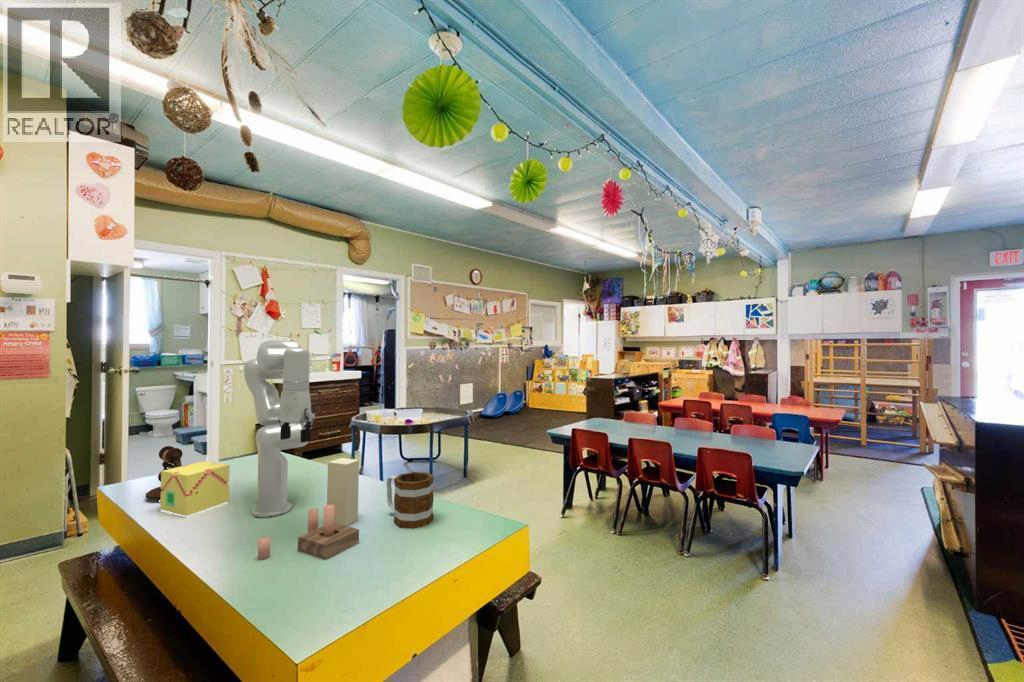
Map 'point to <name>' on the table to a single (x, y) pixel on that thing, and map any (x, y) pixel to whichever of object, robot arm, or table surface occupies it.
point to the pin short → (263, 548)
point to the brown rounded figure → (168, 456)
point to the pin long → (329, 520)
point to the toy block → (194, 487)
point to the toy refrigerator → (343, 489)
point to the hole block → (328, 541)
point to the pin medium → (312, 519)
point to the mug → (411, 499)
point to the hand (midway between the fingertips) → (295, 440)
